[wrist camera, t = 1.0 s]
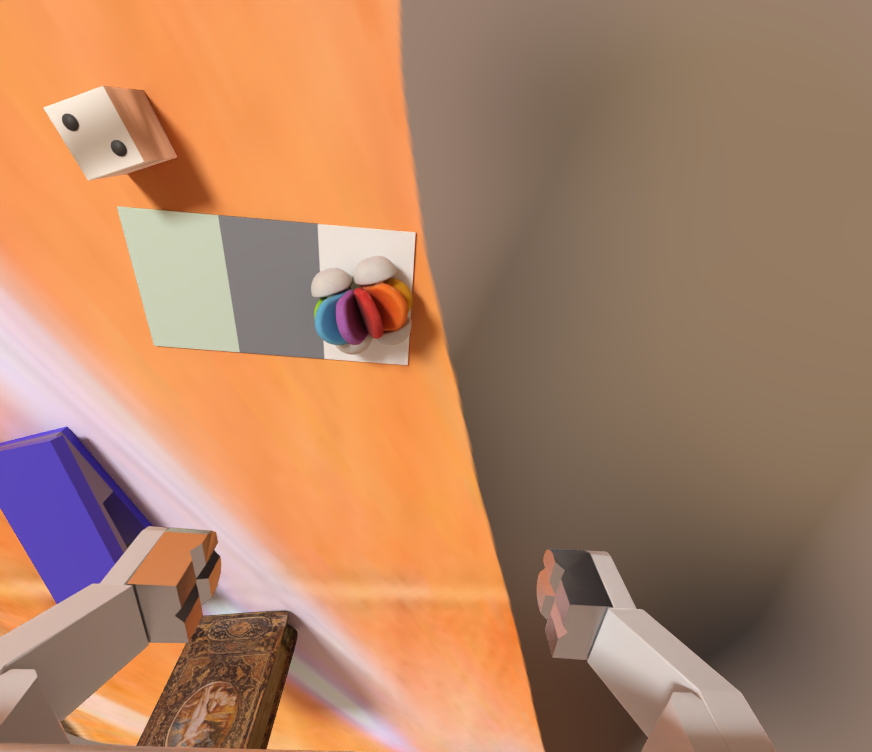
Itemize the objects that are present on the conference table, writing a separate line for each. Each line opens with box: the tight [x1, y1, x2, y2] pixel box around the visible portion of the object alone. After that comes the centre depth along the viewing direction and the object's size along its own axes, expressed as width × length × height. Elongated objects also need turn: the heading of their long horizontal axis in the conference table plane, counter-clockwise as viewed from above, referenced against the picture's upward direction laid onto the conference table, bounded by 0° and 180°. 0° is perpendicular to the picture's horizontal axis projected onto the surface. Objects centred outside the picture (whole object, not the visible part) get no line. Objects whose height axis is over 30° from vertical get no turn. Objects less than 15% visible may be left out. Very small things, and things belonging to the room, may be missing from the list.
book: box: [136, 611, 297, 749], centre depth 61 cm, size 16×6×25 cm, turn 97°
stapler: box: [0, 427, 152, 604], centre depth 55 cm, size 12×28×10 cm, turn 15°
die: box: [44, 86, 177, 180], centre depth 34 cm, size 5×5×5 cm
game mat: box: [117, 206, 416, 365], centre depth 43 cm, size 14×27×1 cm, turn 85°
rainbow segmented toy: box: [311, 256, 413, 355], centre depth 40 cm, size 8×10×7 cm
